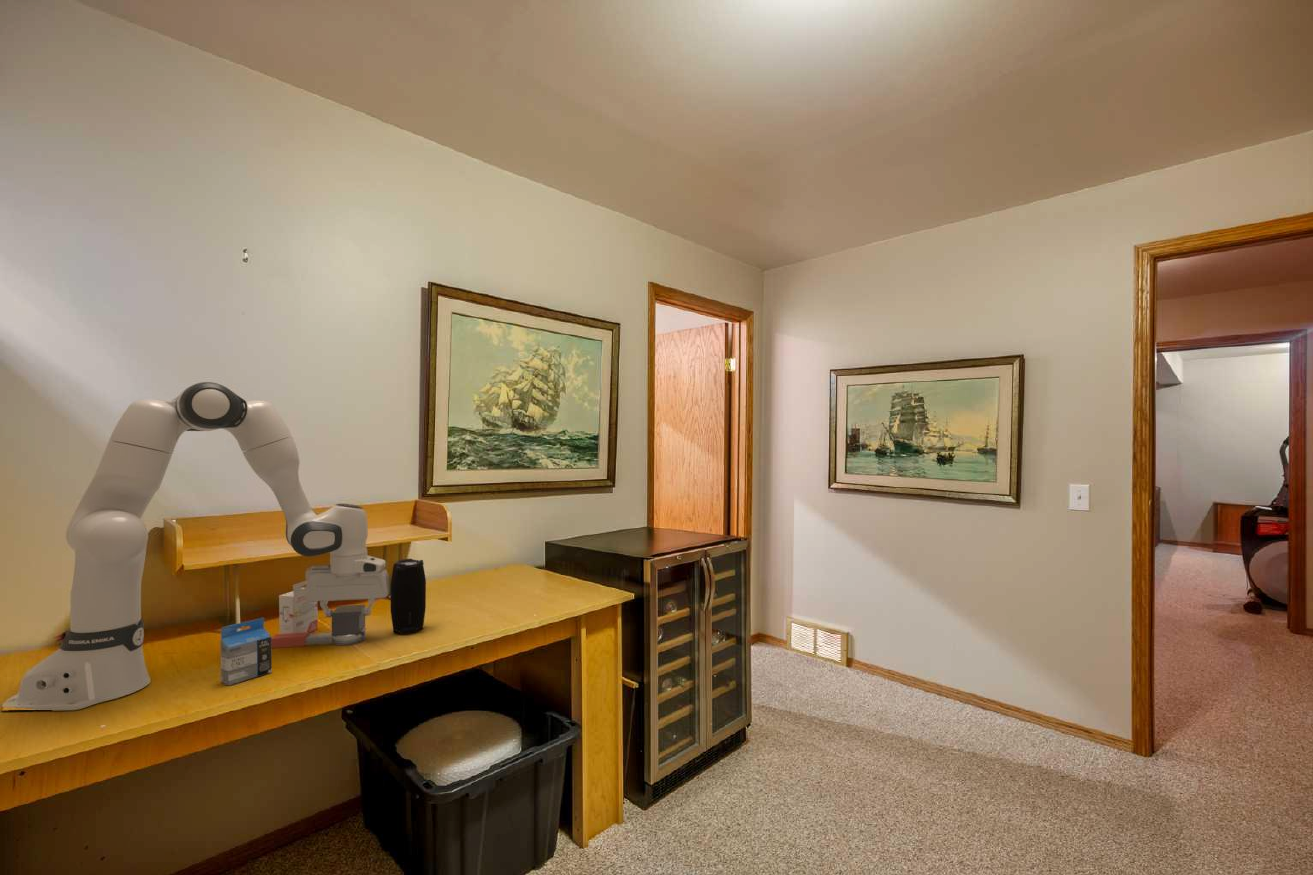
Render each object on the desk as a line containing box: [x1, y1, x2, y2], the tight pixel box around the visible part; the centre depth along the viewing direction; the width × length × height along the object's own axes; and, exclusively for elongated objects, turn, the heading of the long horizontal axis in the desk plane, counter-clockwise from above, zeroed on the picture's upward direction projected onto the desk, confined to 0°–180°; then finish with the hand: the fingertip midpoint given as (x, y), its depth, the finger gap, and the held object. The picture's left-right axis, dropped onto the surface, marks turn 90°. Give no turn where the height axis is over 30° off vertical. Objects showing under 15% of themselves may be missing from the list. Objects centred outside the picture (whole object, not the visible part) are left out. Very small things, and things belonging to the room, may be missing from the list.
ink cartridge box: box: [278, 580, 319, 634], centre depth 162 cm, size 9×5×15 cm, turn 168°
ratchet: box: [271, 626, 367, 649], centre depth 155 cm, size 22×8×6 cm, turn 104°
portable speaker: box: [390, 558, 427, 636], centre depth 165 cm, size 9×9×20 cm
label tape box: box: [220, 617, 273, 686], centre depth 132 cm, size 9×4×12 cm, turn 147°
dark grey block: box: [331, 604, 366, 636], centre depth 157 cm, size 7×7×6 cm
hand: (348, 615), depth 156 cm, fingers open, 8 cm apart
